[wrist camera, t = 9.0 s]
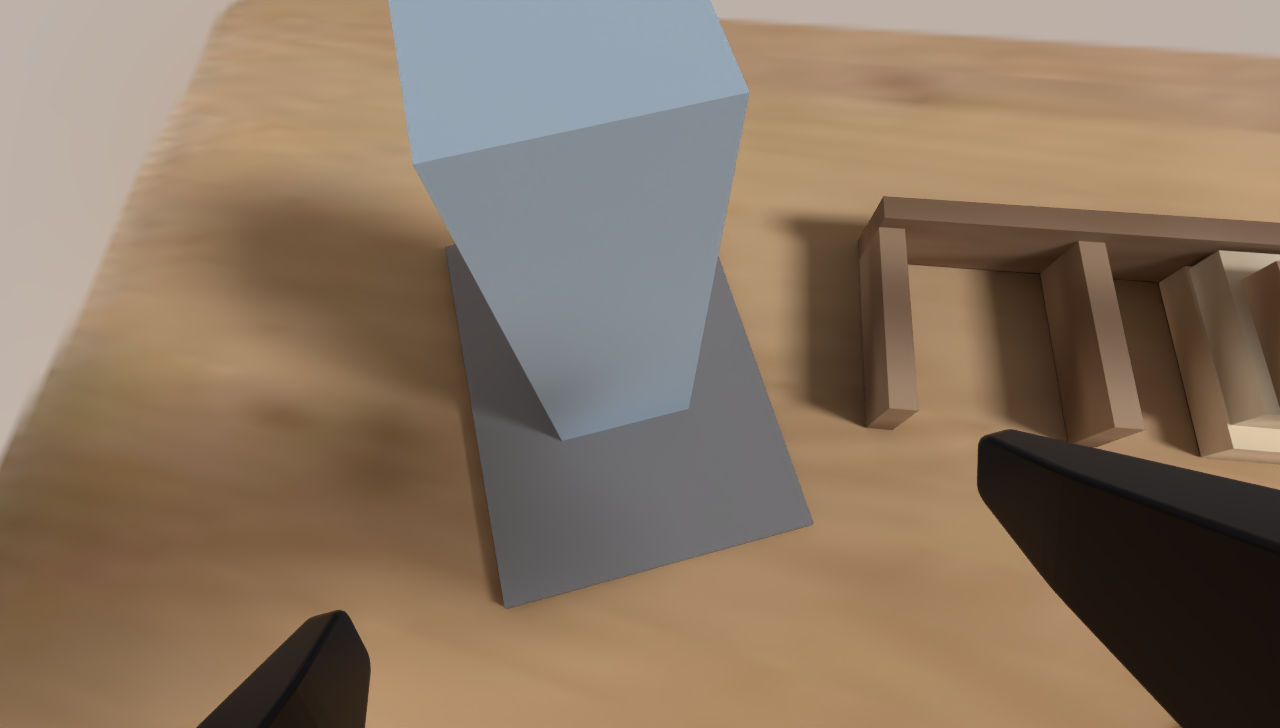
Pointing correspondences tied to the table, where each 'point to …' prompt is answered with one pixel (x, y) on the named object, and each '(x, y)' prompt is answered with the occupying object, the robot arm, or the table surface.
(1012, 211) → the rack
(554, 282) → the block
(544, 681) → the table surface
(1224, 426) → the offcut stack
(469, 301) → the mat
